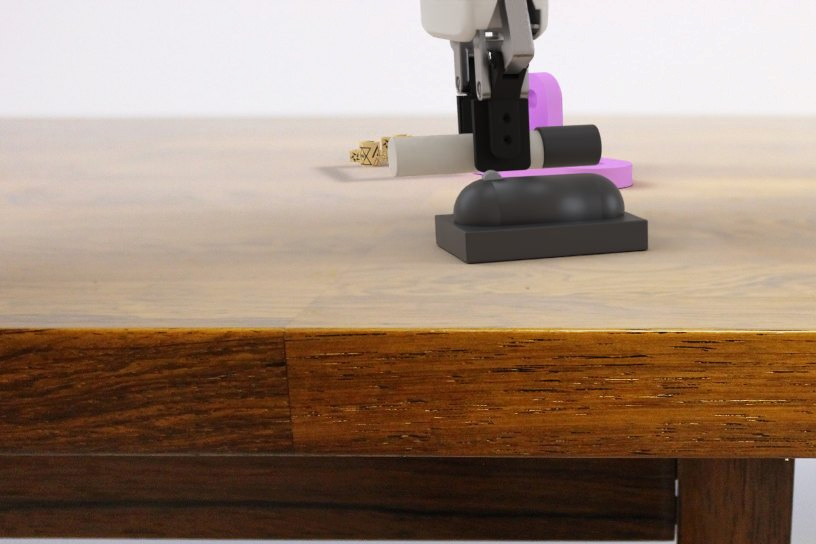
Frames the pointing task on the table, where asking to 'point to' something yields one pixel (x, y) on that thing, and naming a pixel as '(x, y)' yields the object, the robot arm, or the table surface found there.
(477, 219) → the mouse
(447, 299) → the table surface
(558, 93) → the bracket
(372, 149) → the dice set
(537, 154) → the pen
